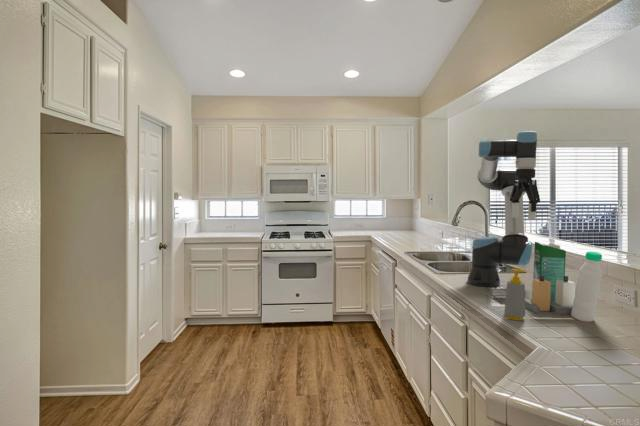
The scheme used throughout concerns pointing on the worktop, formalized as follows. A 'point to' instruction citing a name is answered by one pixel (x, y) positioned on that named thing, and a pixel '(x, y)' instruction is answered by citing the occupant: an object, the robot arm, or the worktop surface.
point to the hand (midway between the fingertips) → (523, 218)
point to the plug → (541, 293)
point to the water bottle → (587, 288)
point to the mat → (500, 300)
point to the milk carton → (549, 264)
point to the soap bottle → (515, 298)
